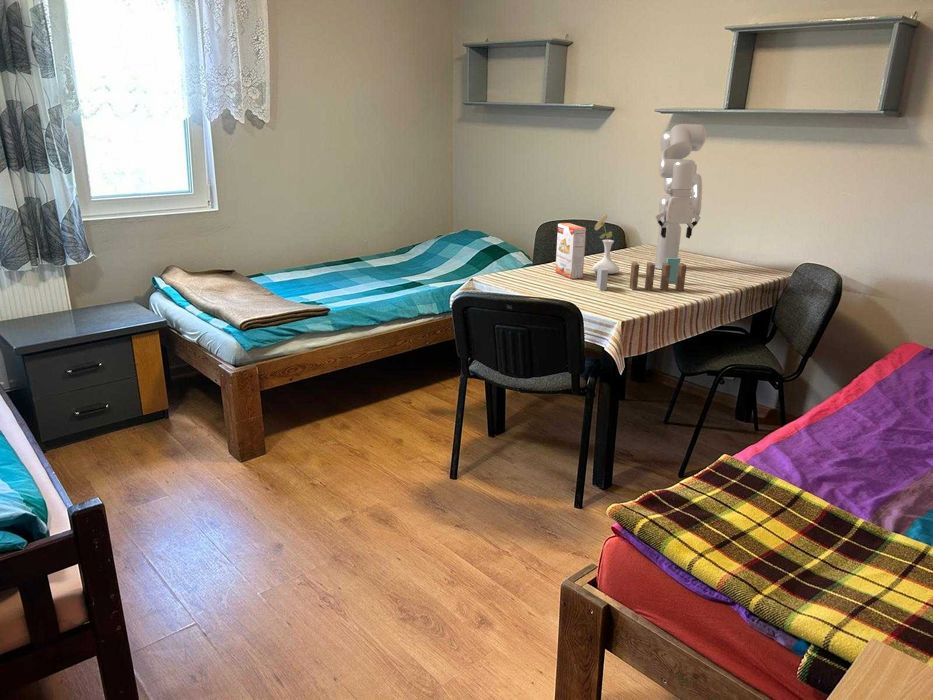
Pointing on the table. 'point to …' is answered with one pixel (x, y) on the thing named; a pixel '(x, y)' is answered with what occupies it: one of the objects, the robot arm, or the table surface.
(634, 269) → the brown wooden block
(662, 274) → the tile
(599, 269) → the end block
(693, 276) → the table surface
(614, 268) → the flower in vase
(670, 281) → the teal block
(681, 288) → the brown wooden block
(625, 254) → the table surface
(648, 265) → the tile
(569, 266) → the cracker box
